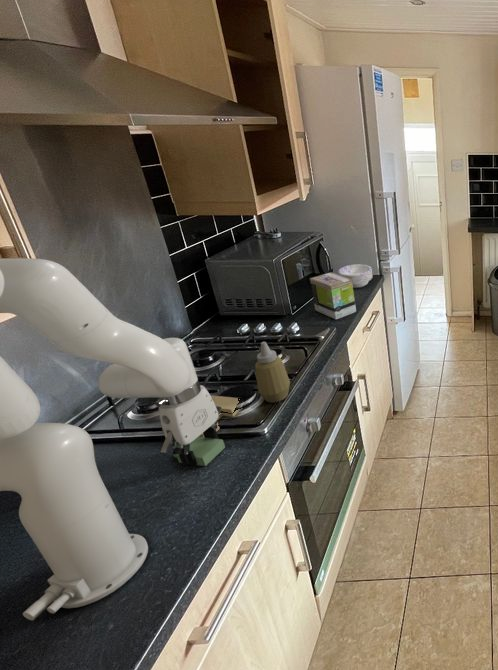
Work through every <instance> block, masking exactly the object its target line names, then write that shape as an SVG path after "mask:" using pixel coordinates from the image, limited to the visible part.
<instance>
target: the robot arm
mask: <svg viewBox="0 0 498 670" xmlns="http://www.w3.org/2000/svg"><path fill="white" fill-rule="evenodd" d="M0 314H11V315H14V316H17V317H18V318H19V319H20V320H21V321H23V322H24V323H26V324H27V325H28V326H29V327H31V328H32V329H33V330H35V332H37V333H38V334H39V335H41V337H43V338H44V339H46V340H47V341H48V342H49V343H51V344H52V345H53V346H54V347H56V349H58V350H59V351H61V352H63V353H65V354H69V355H70V356H71V355H72V356H75V357H79V358H82V359H87V360H92V361H97V362H103V363H108V364H110V365H109V366H108V367H106V368H105V369H104V370H103V371H102V372H101V374H100V375H99V378H98V380H97V387H98V389H99V391H100V392H101V393H102V394H103V395H104V396H106V397H108V398H113V399H141V398H143V399H144V398H146V399H147V398H157V401H155V402H154V405H155V406H156V407H158V414H159V421H160V425H161V428H162V433H163V435H164V437H165V439H164V441H163V444H162V446H161V450H160V454H162V455H173V454H179V457H180V459H181V462H182V463H181V464H182V465H183V466H191V467H192V466H193V467H195V466H197V465H196V464H197V462H196V459H195V456H194V453H193V451H190V443H191V442H192V441H194V440H195V439H196V438H197V437H198V436H200V435H201V434H202V433H203V435H204V437H205V438H213V439H220V438H219V435H218V431H217V432H216V429H217V427H218V426H217V425H216V424H217V422H218V423H219V420H220V419H219V414H220V411H221V407H219V406H215V404H214V402H213V399H212V397H211V394H210V393H209V391H208V389H207V388H206V387H205V386H204V385H202V384H200V380H199V377H198V375H197V371H196V369H195V366H194V363H193V360H192V357H191V354H190V351H189V349H188V345H187V343H186V342H185V341H184V340H183V339H182V338H180V337H167V338H166V337H165V338H161V337H160V336H158V335H155V334H154V333H151V332H150V331H147V330H145V329H143V328H141V327H138V326H136V325H134V324H132V323H130V322H127V321H124V320H123V319H121V318H118V317H116V316H115V315H114V314H113V313H112V312H111V311H110V310H109V308H107V307H106V306H105V305H104V304H103V303H101V302H100V300H99V299H98V298H97V297H96V296H95V295H94V294H93V293H91V291H90V290H89V289H88V288H87V287H86V286H85V285H84V284H83V283H81V281H80V280H79V279H78V278H77V277H76V276H75V275H74V274H73V273H72V272H71V271H69V269H68V268H66V267H65V266H63V265H62V264H60V263H58V262H55V261H53V260H50V259H44V258H33V257H31V258H29V257H28V258H26V257H24V258H23V257H22V258H21V257H20V258H18V257H17V258H13V257H12V258H9V257H8V258H0ZM40 414H41V404H40V400H39V398H38V396H37V395H36V393H35V392H34V391H33V390H32V388H31V387H30V386H29V385H28V384H27V383H26V381H24V379H22V378H21V376H20V375H19V374H18V373H17V372H16V370H14V369H13V368H12V367H11V366H10V365H9V364H8V362H7V361H6V360H5V359H4V358H3V356H1V355H0V492H5V491H6V492H15V493H17V494H18V495H20V498H21V502H20V504H19V507H18V508H19V509H18V517H19V521H20V522H21V524H22V526H23V528H24V529H25V531H26V532H27V533H28V535H29V536H30V538H31V540H32V541H33V543H34V544H35V546H36V548H37V550H38V551H39V553H40V554H41V556H42V557H43V559H44V560H45V563H47V565H48V567H49V568H50V570H51V571H52V573H53V575H51V576H50V577H49V578H48V579H47V583H48V584H49V585H50V586H48V588H46V589H45V590H44V594H43V595H42V596H41V597H40V598H39V599H38V600H36V601H34V602H33V603H32V604H31V605H30V606H29V607H28V608H27V609H26V610H25V611H23V612H22V616H23V617H24V618H26V619H27V620H29V621H35V620H36V618H38V617H39V616H40V615H41V614H42V613H43V612H44V611H45V610H46V611H47V612H48V613H50V614H55V613H56V612H57V611H59V610H60V608H63V609H75V608H80V607H84V606H87V605H90V604H92V603H96V602H98V601H99V600H102V599H103V598H105V597H107V596H109V595H110V594H112V593H114V592H115V591H117V590H118V589H119V588H121V587H122V586H123V585H125V584H126V583H127V582H128V581H129V580H130V579H131V578H132V577H133V576H134V575H135V574H136V573H137V572H138V571H139V569H140V568H141V567H142V566H143V564H144V562H145V561H146V558H147V556H148V553H149V545H148V542H147V539H146V538H145V537H144V536H142V535H140V534H137V533H129V531H128V529H127V527H126V525H125V523H124V521H123V519H122V517H121V515H120V512H119V511H118V509H117V507H116V505H115V503H114V501H113V498H112V497H111V495H110V493H109V491H108V489H107V487H106V486H105V484H104V481H103V479H102V476H101V474H100V471H99V470H98V467H97V463H96V457H95V448H94V443H93V439H92V438H91V435H90V434H89V433H88V432H87V430H85V429H84V428H82V427H79V426H78V425H75V424H70V423H64V422H63V423H62V422H37V420H39V417H40ZM218 419H219V420H218ZM181 445H183V448H181ZM173 447H174V448H173Z"/></svg>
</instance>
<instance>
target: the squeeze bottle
mask: <svg viewBox="0 0 498 670" xmlns="http://www.w3.org/2000/svg"><path fill="white" fill-rule="evenodd" d="M256 359H257V361H256V363H255V365H254V368H255V376H256V384H257V391H258V393H259V394H260V396H262V398H263V399H264V400H265V402H267V403H272V404H273V403H278V402H281V401H283V400H284V399H286V398H287V397H288V396H289V392H290V385H291V379H290V378H289V376H288V372H287V370H286V367H285V364H284V362H283V359H282V358H281V357H280V356H278V355H277V352H276V351H275V350H273V349H270V347H269V345H268V344H267V342H266V341H262V342H260V352H259V353H258V354H257V355H256Z"/></svg>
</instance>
